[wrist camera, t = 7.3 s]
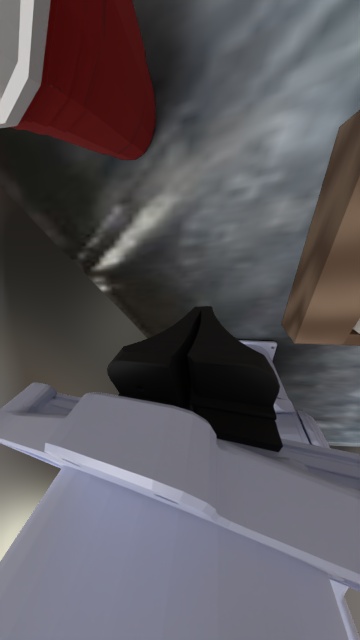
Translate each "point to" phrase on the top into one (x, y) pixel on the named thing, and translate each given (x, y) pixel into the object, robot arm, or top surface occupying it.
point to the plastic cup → (77, 74)
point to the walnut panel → (331, 254)
